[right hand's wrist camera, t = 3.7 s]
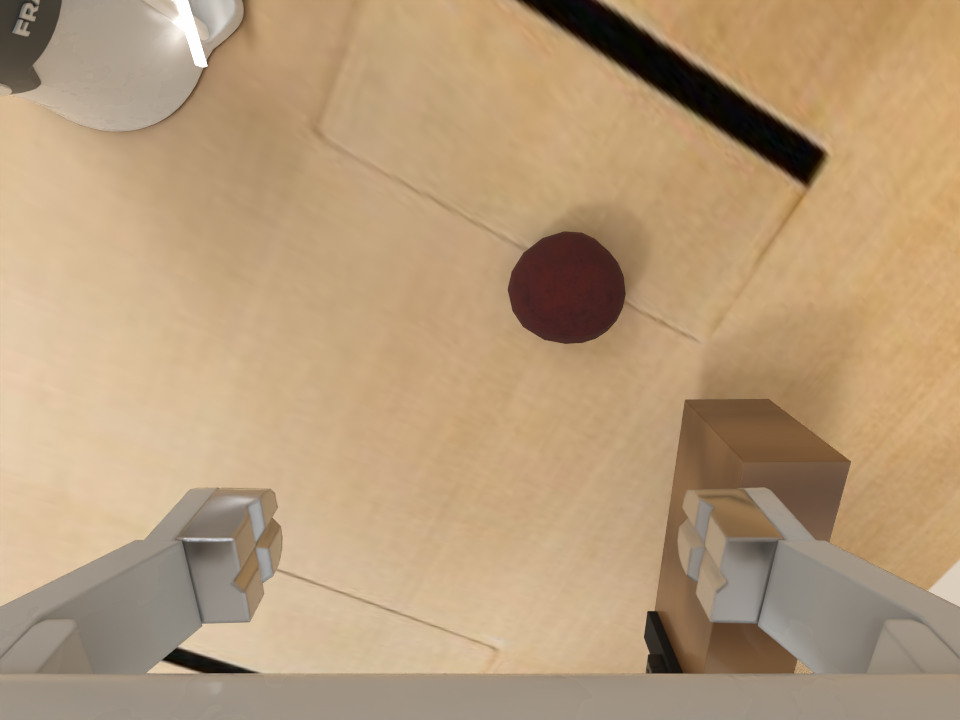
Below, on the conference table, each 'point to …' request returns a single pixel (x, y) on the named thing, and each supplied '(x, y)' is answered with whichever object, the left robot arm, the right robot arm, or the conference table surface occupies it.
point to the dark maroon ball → (567, 288)
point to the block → (732, 465)
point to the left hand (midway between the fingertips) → (691, 624)
